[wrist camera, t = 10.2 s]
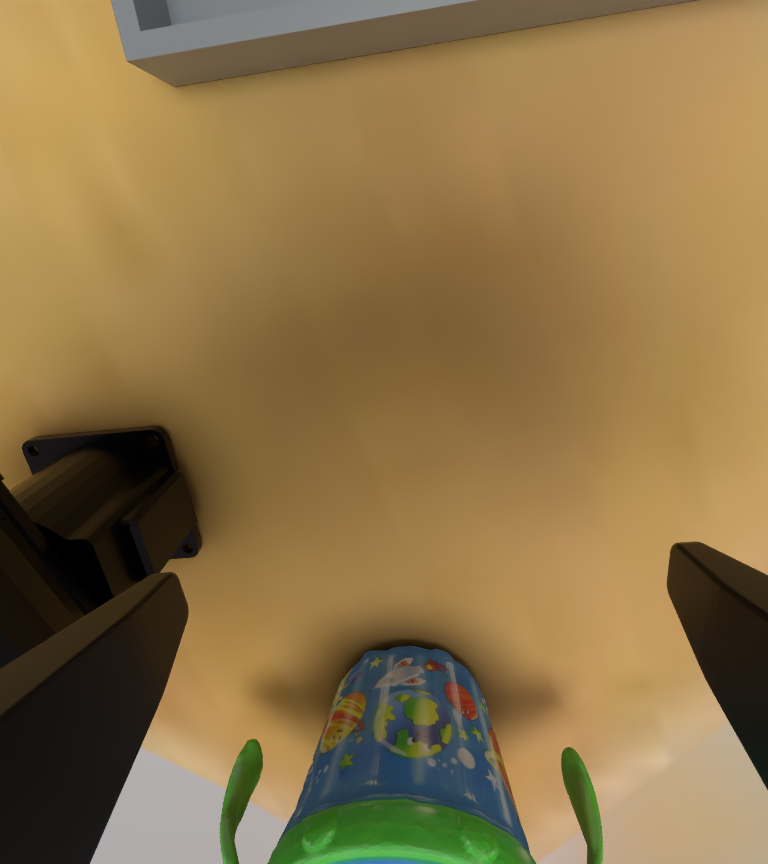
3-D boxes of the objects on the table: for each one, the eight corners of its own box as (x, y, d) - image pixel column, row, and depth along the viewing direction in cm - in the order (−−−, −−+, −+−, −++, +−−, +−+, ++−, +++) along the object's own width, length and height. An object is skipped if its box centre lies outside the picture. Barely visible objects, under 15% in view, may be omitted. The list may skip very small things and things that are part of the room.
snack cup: (268, 744, 29) (197, 990, 20) (259, 600, 25) (165, 826, 16) (540, 770, 29) (598, 1036, 19) (577, 627, 25) (674, 878, 15)
